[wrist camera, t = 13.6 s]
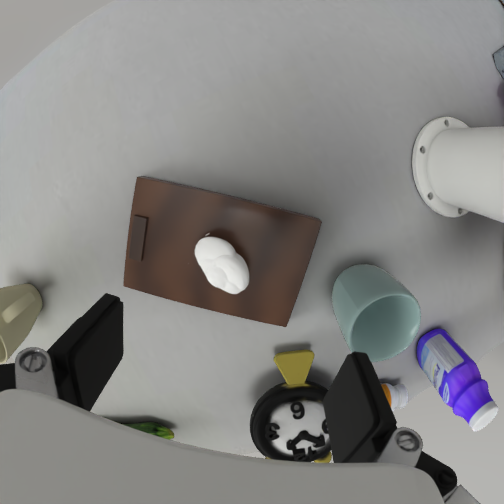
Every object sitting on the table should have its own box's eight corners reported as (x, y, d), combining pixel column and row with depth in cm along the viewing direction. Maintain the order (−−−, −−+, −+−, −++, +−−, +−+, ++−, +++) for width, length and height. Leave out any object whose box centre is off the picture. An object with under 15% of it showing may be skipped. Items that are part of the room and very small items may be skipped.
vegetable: (75, 451, 35) (160, 456, 33) (76, 418, 40) (158, 414, 38) (101, 458, 40) (184, 460, 38) (101, 428, 45) (181, 424, 43)
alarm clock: (337, 352, 40) (384, 433, 29) (270, 400, 44) (301, 477, 33) (292, 334, 34) (347, 443, 22) (217, 392, 37) (246, 488, 26)
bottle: (413, 334, 36) (473, 417, 19) (444, 319, 35) (509, 390, 18) (414, 367, 38) (462, 446, 21) (443, 353, 37) (496, 423, 20)
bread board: (319, 218, 31) (323, 222, 29) (285, 320, 35) (286, 330, 33) (142, 176, 29) (134, 177, 27) (128, 281, 33) (121, 288, 31)
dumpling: (261, 270, 31) (258, 294, 28) (221, 285, 33) (214, 309, 30) (229, 217, 28) (222, 237, 25) (187, 237, 30) (175, 257, 27)
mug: (56, 334, 37) (15, 378, 25) (14, 306, 35) (-28, 341, 24) (59, 277, 34) (6, 317, 22) (15, 250, 32) (-38, 279, 21)
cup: (321, 261, 32) (346, 302, 23) (383, 250, 32) (425, 283, 22) (326, 319, 35) (347, 370, 25) (383, 306, 34) (417, 351, 24)
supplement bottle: (350, 426, 33) (410, 413, 32) (350, 390, 35) (409, 379, 35) (340, 420, 38) (395, 410, 37) (340, 388, 40) (394, 380, 40)
